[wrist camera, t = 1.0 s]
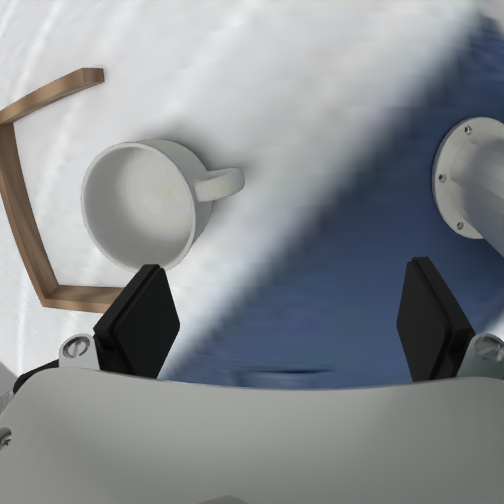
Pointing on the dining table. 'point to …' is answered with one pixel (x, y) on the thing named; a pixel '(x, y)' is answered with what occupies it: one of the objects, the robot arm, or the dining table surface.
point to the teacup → (150, 201)
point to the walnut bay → (19, 210)
